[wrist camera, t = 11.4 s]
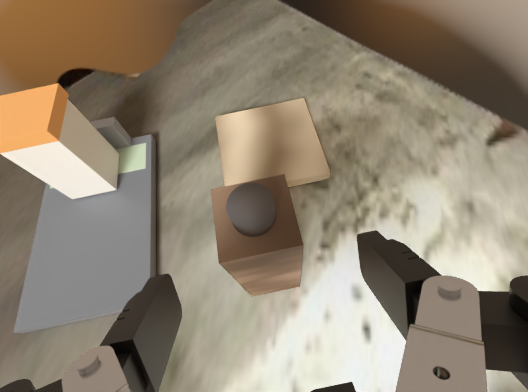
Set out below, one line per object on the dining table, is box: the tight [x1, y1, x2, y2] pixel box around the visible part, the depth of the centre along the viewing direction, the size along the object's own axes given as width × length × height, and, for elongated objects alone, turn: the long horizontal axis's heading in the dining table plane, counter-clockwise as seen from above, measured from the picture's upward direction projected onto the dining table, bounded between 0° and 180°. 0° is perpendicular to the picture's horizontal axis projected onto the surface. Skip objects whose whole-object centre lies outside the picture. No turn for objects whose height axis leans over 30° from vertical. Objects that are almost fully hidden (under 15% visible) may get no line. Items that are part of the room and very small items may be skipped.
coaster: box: [215, 98, 331, 187], centre depth 26 cm, size 9×9×1 cm
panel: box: [13, 117, 156, 333], centre depth 23 cm, size 10×16×4 cm, turn 11°
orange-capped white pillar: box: [0, 83, 119, 199], centre depth 22 cm, size 4×4×8 cm
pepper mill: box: [211, 174, 303, 296], centre depth 16 cm, size 4×4×11 cm
